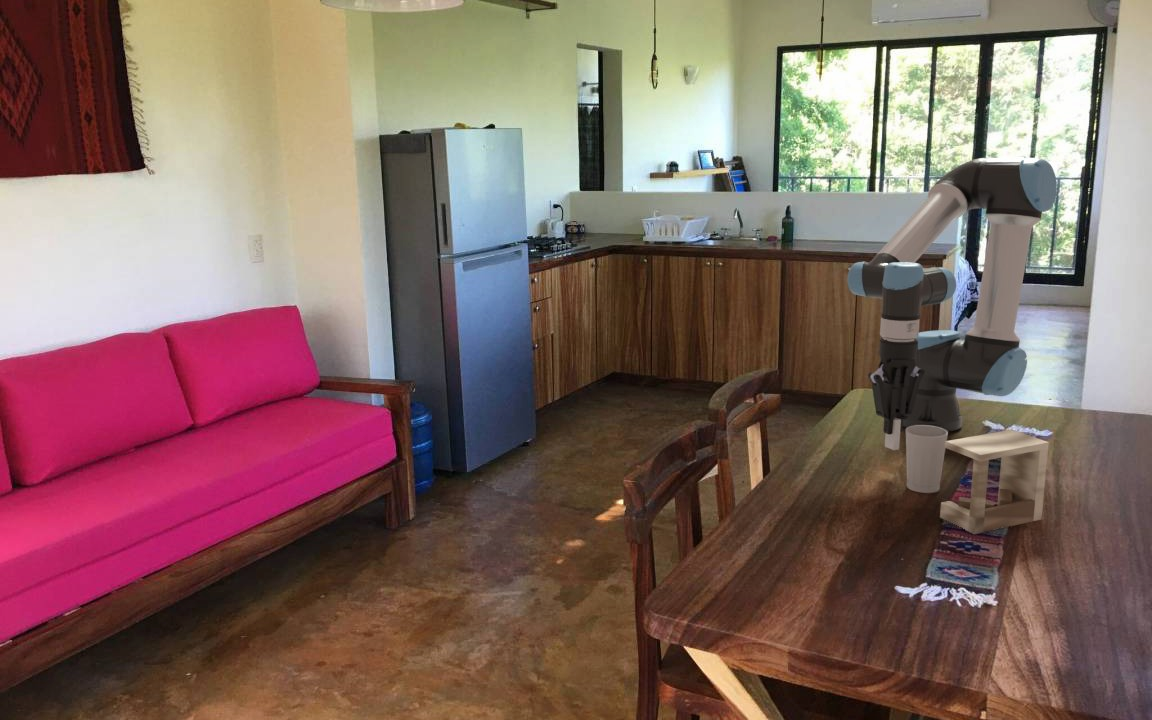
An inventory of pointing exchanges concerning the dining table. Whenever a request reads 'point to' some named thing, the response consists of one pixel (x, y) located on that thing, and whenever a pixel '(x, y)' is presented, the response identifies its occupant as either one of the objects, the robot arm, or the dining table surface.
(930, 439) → the cup
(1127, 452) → the dining table surface
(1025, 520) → the shelf
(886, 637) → the dining table surface
